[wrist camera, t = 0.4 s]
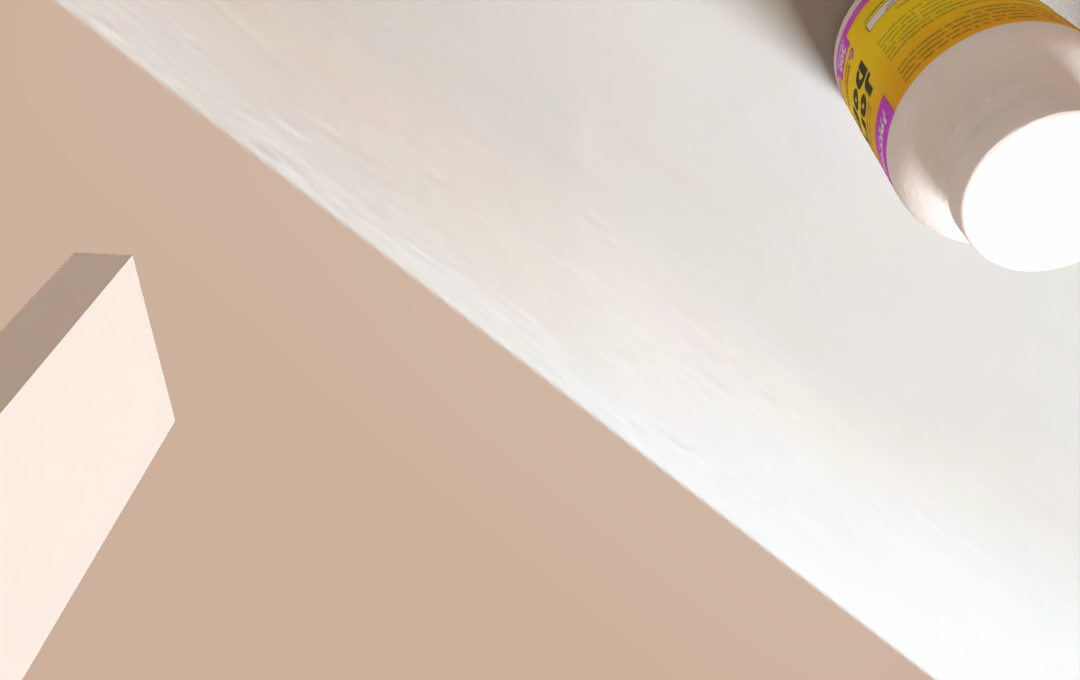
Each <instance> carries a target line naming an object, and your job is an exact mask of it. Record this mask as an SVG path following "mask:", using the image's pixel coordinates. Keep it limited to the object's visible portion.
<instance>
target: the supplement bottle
mask: <svg viewBox="0 0 1080 680" xmlns="http://www.w3.org/2000/svg"><path fill="white" fill-rule="evenodd" d="M834 70H835V76H836V81H837V84H838V87H839V90H840V93H841V95H842V97H843V99H844V101H845V103H846V105H847V106H848V108H849V110H850V112H851V114H852V116H853V117H854V119H855V121H856V123H857V124H858V126H859V128H860V130H861V132H862V134H863V136H864V137H865V139H866V140H867V142H868V143H869V145H870V147H871V149H872V151H873V152H874V154H875V156H876V158H877V159H878V161H879V163H880V164H881V166H882V168H883V170H884V171H885V173H886V175H887V177H888V179H889V181H890V182H891V184H892V186H893V188H894V190H895V192H896V193H897V195H898V196H899V198H900V200H901V201H902V203H903V204H904V206H905V207H906V208H907V209H908V211H909V212H910V213H911V214H912V215H913V216H914V217H915V218H916V219H917V220H918V221H920V222H921V223H922V224H923V225H925V226H926V227H928V228H929V229H931V230H933V231H935V232H936V233H938V234H940V235H942V236H945V237H948V238H951V239H953V240H957V241H961V242H966V243H970V245H971V246H972V247H973V248H974V249H975V250H976V251H977V252H978V253H979V254H980V255H981V256H982V257H984V258H986V259H987V260H989V261H991V262H992V263H994V264H997V265H999V266H1001V267H1005V268H1008V269H1013V270H1019V271H1045V270H1051V269H1057V268H1060V267H1064V266H1068V265H1070V264H1073V263H1076V262H1079V261H1080V30H1079V29H1078V28H1076V27H1075V26H1074V25H1072V24H1071V23H1070V22H1068V21H1067V20H1066V19H1064V18H1063V17H1062V16H1060V15H1059V14H1057V13H1056V12H1055V11H1053V10H1052V9H1051V8H1050V7H1048V6H1047V5H1045V4H1044V3H1043V2H1041V1H1040V0H855V2H854V3H853V4H852V6H851V7H850V9H849V10H848V12H847V14H846V16H845V18H844V20H843V22H842V24H841V27H840V30H839V33H838V36H837V39H836V44H835V51H834Z"/></svg>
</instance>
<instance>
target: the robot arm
mask: <svg viewBox="0 0 1080 680" xmlns="http://www.w3.org/2000/svg"><path fill="white" fill-rule="evenodd" d="M174 421H175V419H174V415H173V411H172V407H171V403H170V399H169V395H168V392H167V388H166V384H165V380H164V376H163V372H162V368H161V364H160V361H159V357H158V353H157V349H156V345H155V341H154V337H153V333H152V330H151V326H150V322H149V318H148V314H147V310H146V306H145V302H144V299H143V295H142V291H141V287H140V283H139V279H138V275H137V271H136V267H135V264H134V260H133V256H132V255H114V254H93V253H74V254H73V255H72V256H71V257H70V258H69V259H68V260H67V261H66V262H65V263H64V264H63V265H62V267H61V268H60V269H59V270H58V271H57V272H56V273H55V274H54V275H53V276H52V277H51V278H50V279H49V280H48V281H47V282H46V283H45V284H44V286H43V287H42V288H41V289H40V290H39V291H38V292H37V293H36V294H35V295H34V296H33V297H32V298H31V299H30V300H29V302H28V303H27V304H26V305H25V306H24V307H23V308H22V309H21V310H20V311H19V312H18V313H17V314H16V315H15V316H14V318H13V319H12V320H11V321H10V322H9V323H8V324H7V325H6V326H5V327H4V328H3V329H2V330H1V332H0V680H22V678H23V677H24V675H25V673H26V672H27V670H28V669H29V667H30V665H31V663H32V662H33V660H34V658H35V657H36V655H37V653H38V652H39V650H40V648H41V647H42V645H43V643H44V641H45V640H46V638H47V636H48V635H49V633H50V631H51V629H52V628H53V626H54V625H55V623H56V621H57V619H58V618H59V616H60V614H61V613H62V611H63V609H64V608H65V606H66V604H67V603H68V601H69V599H70V598H71V596H72V594H73V592H74V591H75V589H76V587H77V585H78V584H79V582H80V581H81V579H82V577H83V576H84V574H85V572H86V570H87V569H88V567H89V565H90V563H91V562H92V560H93V559H94V557H95V555H96V554H97V552H98V550H99V548H100V547H101V545H102V543H103V542H104V540H105V538H106V537H107V535H108V533H109V532H110V530H111V528H112V526H113V525H114V523H115V521H116V520H117V518H118V516H119V515H120V513H121V511H122V509H123V508H124V506H125V504H126V503H127V501H128V499H129V497H130V496H131V494H132V493H133V491H134V489H135V487H136V486H137V484H138V482H139V481H140V479H141V477H142V476H143V474H144V472H145V471H146V469H147V467H148V465H149V464H150V462H151V460H152V459H153V457H154V455H155V454H156V452H157V450H158V449H159V447H160V445H161V443H162V442H163V440H164V438H165V437H166V435H167V433H168V431H169V430H170V428H171V427H172V425H173V423H174Z"/></svg>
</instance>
